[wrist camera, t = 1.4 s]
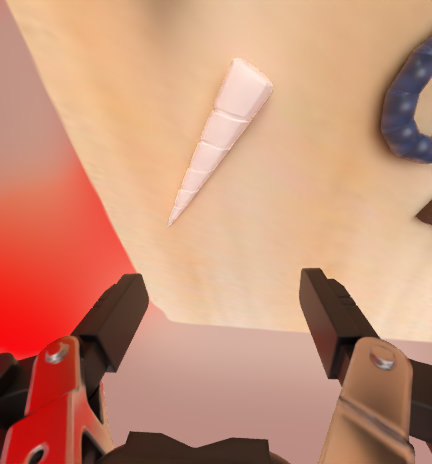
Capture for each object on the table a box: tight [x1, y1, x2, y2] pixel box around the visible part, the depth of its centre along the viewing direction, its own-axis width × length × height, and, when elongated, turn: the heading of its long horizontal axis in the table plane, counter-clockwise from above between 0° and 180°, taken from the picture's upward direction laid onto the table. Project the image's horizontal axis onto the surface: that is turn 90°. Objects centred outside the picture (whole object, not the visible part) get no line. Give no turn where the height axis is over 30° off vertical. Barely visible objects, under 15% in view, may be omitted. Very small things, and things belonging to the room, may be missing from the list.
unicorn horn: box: [168, 57, 274, 227], centre depth 26 cm, size 5×24×5 cm, turn 146°
